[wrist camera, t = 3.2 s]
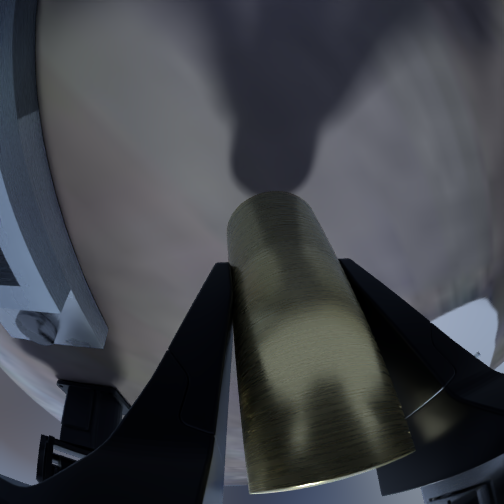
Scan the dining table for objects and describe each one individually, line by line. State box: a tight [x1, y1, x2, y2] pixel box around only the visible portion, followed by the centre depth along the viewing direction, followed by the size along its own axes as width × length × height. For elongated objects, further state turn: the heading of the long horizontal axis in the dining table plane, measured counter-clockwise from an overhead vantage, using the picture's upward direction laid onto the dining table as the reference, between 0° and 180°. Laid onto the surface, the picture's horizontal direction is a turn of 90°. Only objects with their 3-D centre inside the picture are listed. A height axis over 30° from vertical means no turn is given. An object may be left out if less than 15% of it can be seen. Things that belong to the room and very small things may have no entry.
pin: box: [227, 191, 416, 494], centre depth 7 cm, size 3×3×8 cm
